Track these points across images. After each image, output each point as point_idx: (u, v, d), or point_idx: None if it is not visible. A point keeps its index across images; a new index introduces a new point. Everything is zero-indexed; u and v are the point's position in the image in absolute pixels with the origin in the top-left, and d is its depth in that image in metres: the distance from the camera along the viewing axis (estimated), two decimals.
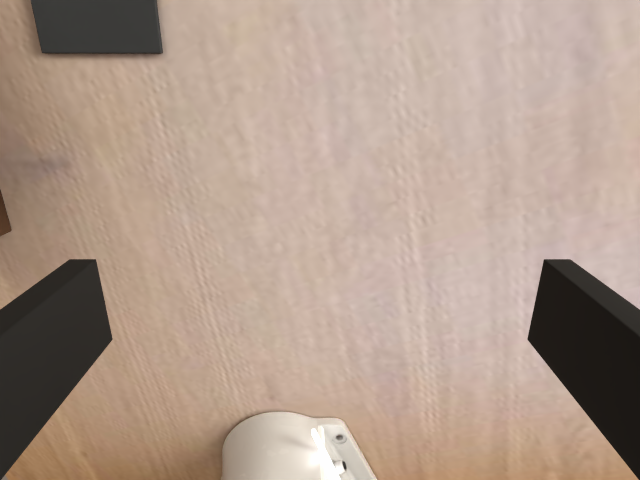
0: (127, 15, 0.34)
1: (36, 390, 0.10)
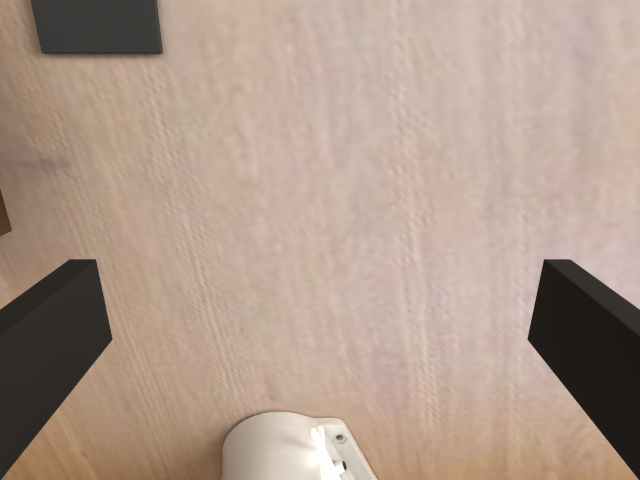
0: (127, 15, 0.34)
1: (36, 390, 0.10)
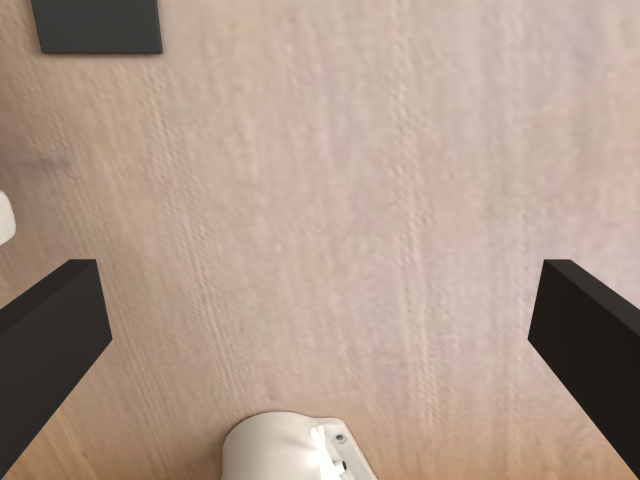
0: (127, 15, 0.34)
1: (36, 390, 0.10)
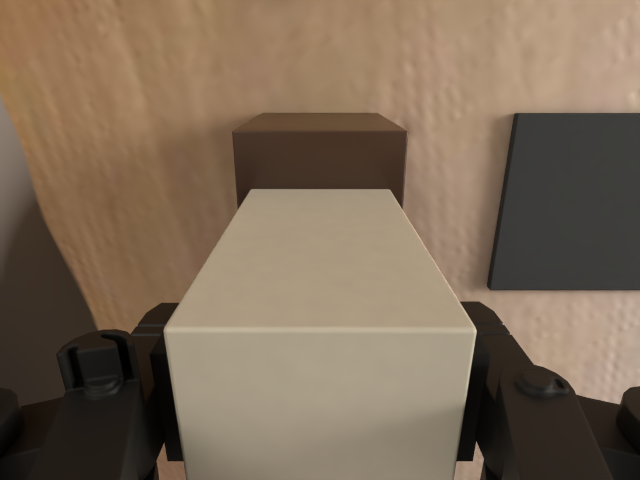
0: (632, 246, 0.24)
1: None
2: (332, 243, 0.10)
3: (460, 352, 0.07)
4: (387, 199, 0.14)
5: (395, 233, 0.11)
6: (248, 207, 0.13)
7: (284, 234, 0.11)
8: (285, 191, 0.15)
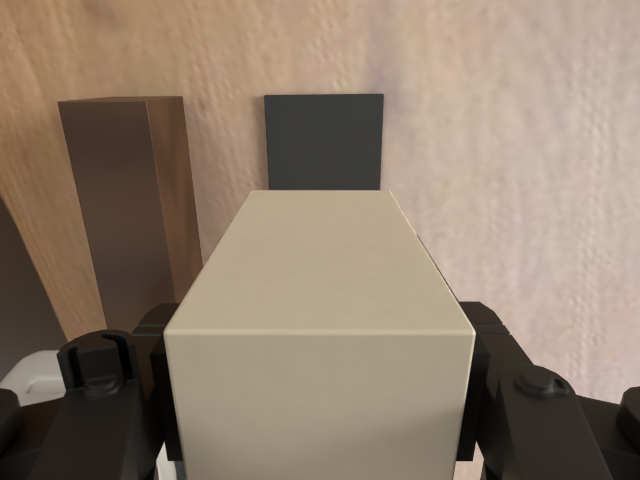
0: (354, 179, 0.38)
1: None
2: (331, 245, 0.10)
3: (459, 354, 0.07)
4: (387, 200, 0.14)
5: (394, 235, 0.11)
6: (248, 208, 0.13)
7: (283, 236, 0.11)
8: (285, 192, 0.15)
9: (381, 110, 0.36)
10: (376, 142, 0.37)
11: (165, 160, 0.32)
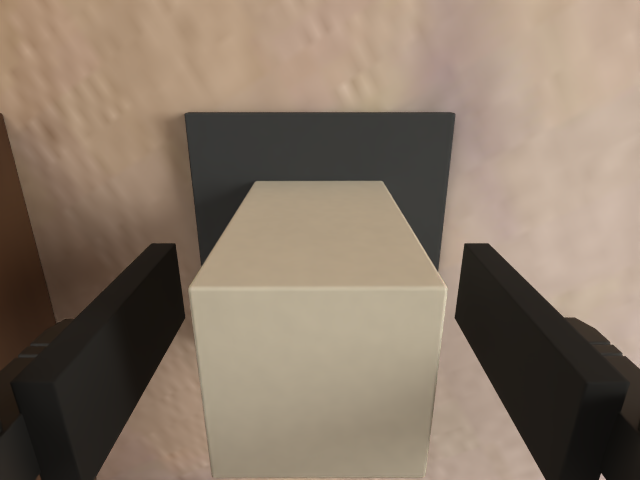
0: None
1: (141, 356, 0.11)
2: (328, 224, 0.11)
3: (434, 307, 0.08)
4: (379, 189, 0.15)
5: (385, 216, 0.12)
6: (253, 196, 0.14)
7: (286, 218, 0.12)
8: (287, 183, 0.16)
9: (448, 149, 0.16)
10: (433, 215, 0.17)
11: None
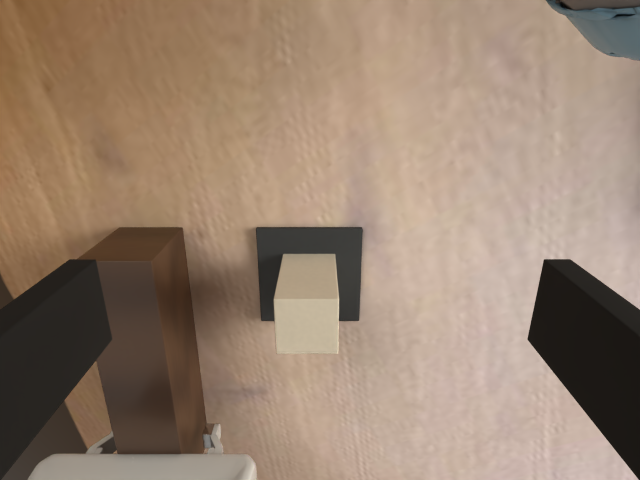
0: None
1: (36, 390, 0.10)
2: (310, 278, 0.36)
3: (335, 304, 0.32)
4: (332, 259, 0.39)
5: (330, 274, 0.36)
6: (284, 263, 0.38)
7: (297, 275, 0.36)
8: (296, 255, 0.40)
9: (360, 242, 0.40)
10: (356, 267, 0.41)
11: (167, 298, 0.36)
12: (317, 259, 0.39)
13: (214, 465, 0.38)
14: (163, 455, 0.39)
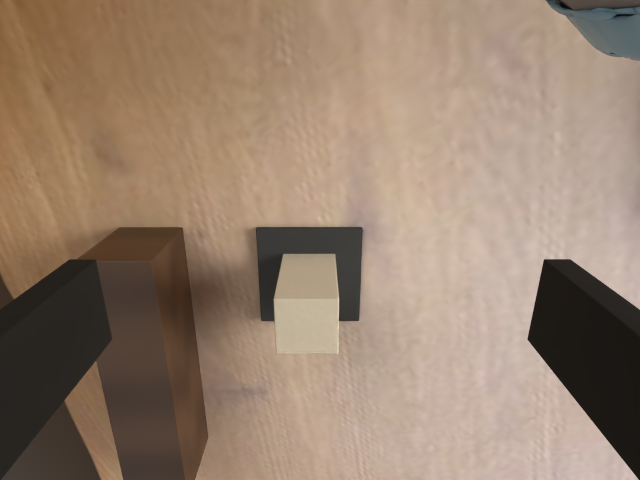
0: None
1: (36, 390, 0.10)
2: (310, 278, 0.36)
3: (335, 304, 0.32)
4: (332, 259, 0.39)
5: (330, 274, 0.36)
6: (284, 263, 0.38)
7: (297, 275, 0.36)
8: (296, 255, 0.40)
9: (360, 242, 0.40)
10: (356, 267, 0.41)
11: (167, 298, 0.36)
12: (317, 259, 0.39)
13: None
14: None
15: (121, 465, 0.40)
